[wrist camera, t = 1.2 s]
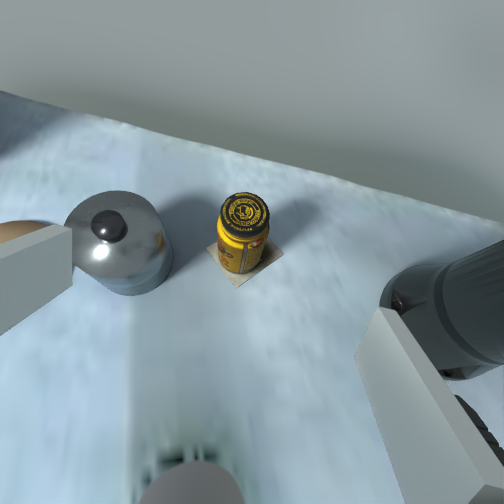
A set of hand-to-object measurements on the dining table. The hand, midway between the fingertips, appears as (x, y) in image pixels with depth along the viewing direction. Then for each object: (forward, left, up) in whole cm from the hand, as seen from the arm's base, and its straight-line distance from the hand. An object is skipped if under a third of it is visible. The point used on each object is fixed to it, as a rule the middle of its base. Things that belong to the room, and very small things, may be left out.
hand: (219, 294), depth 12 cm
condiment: (+9, -9, -26) cm, 29 cm away
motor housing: (+16, +4, -26) cm, 30 cm away
